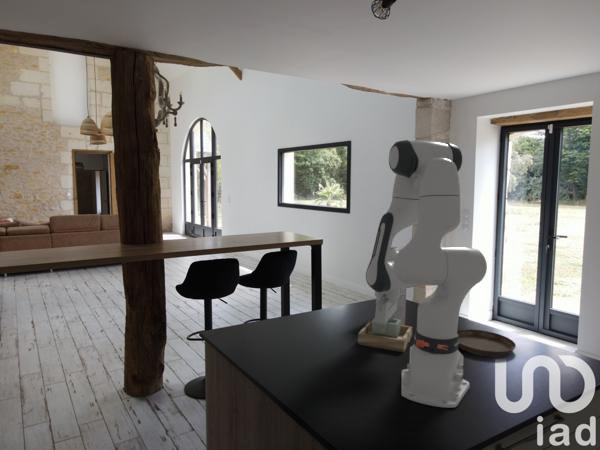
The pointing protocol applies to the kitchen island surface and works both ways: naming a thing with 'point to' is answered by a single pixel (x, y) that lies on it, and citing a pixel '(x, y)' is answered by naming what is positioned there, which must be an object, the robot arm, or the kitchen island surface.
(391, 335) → the box
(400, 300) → the cracker box
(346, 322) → the kitchen island surface
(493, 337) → the plant saucer
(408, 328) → the big crate
